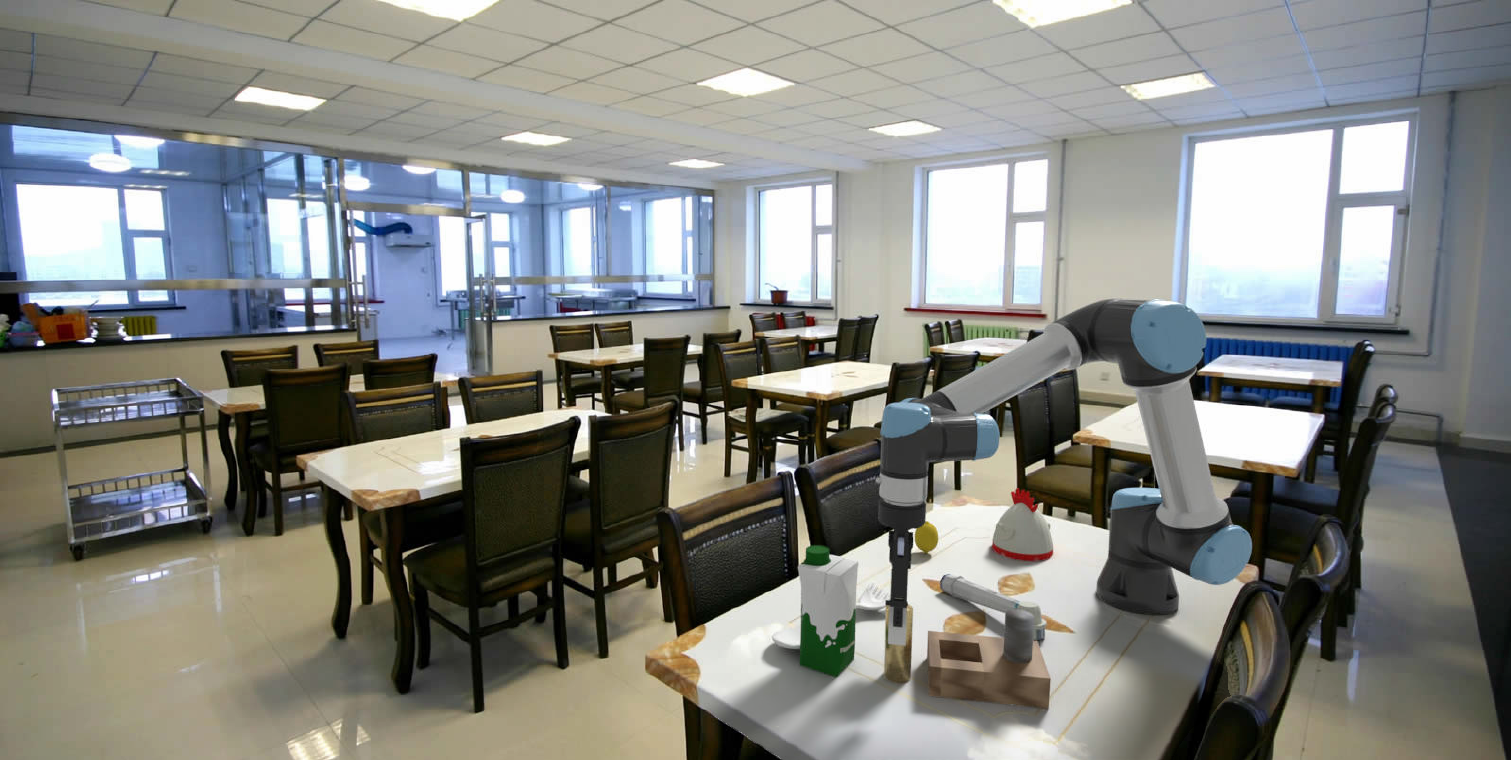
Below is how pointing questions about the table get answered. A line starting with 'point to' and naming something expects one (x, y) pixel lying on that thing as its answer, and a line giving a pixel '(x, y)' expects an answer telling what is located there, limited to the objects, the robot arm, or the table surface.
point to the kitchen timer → (1023, 531)
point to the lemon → (926, 537)
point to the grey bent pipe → (992, 600)
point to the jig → (990, 665)
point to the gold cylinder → (898, 652)
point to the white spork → (866, 602)
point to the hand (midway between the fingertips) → (897, 624)
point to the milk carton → (827, 610)
